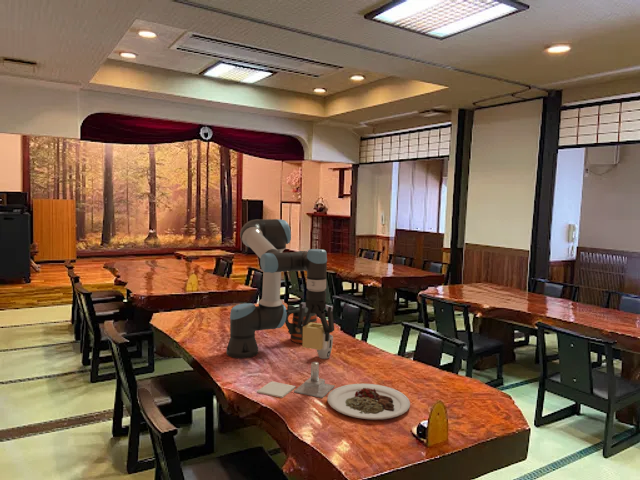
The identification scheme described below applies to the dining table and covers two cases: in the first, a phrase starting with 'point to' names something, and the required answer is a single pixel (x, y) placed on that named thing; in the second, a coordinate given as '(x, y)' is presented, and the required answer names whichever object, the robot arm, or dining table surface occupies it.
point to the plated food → (368, 401)
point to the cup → (326, 353)
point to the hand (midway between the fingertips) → (315, 347)
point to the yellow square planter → (313, 336)
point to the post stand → (314, 384)
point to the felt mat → (276, 389)
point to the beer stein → (292, 327)
